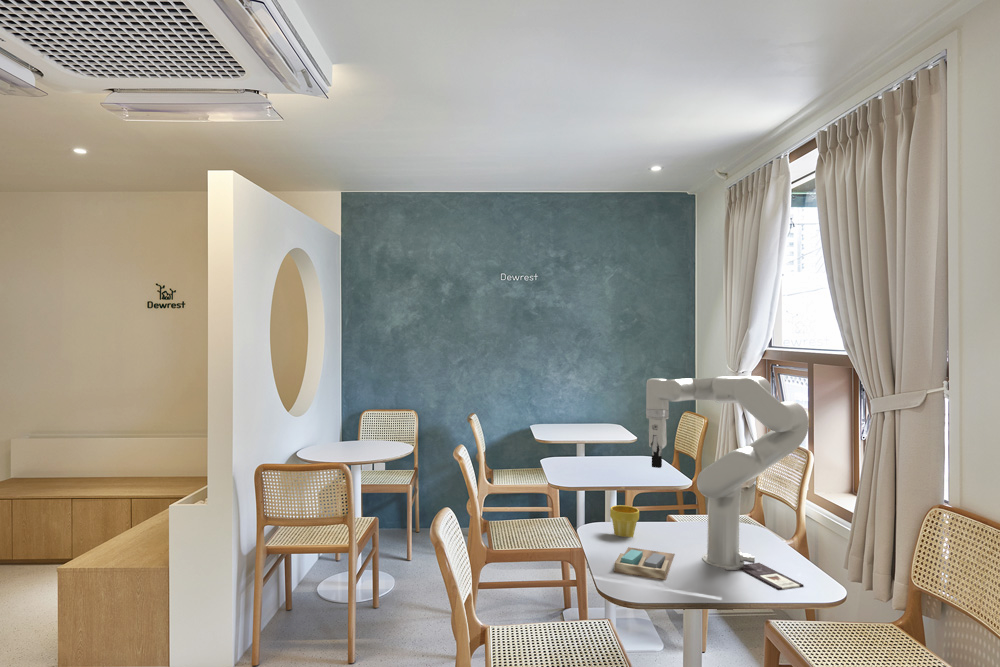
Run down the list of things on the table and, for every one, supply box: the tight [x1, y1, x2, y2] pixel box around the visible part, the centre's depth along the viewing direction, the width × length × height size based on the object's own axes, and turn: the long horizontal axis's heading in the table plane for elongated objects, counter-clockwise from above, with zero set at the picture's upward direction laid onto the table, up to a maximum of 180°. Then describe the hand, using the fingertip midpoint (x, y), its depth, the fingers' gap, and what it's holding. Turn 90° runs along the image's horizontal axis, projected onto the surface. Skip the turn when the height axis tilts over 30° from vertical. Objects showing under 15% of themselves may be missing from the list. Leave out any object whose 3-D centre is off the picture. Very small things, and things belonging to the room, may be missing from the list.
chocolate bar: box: [739, 562, 804, 591], centre depth 180 cm, size 9×1×18 cm
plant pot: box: [609, 504, 640, 539], centre depth 216 cm, size 10×10×10 cm
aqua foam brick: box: [621, 549, 643, 565], centre depth 185 cm, size 4×9×4 cm, turn 147°
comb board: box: [613, 546, 676, 581], centre depth 188 cm, size 15×24×3 cm, turn 158°
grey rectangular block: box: [644, 553, 665, 569], centre depth 182 cm, size 4×9×4 cm, turn 148°
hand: (656, 467), depth 206 cm, fingers closed
